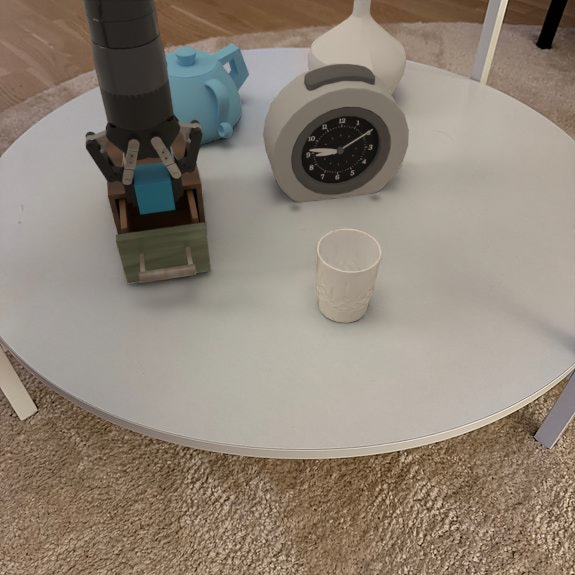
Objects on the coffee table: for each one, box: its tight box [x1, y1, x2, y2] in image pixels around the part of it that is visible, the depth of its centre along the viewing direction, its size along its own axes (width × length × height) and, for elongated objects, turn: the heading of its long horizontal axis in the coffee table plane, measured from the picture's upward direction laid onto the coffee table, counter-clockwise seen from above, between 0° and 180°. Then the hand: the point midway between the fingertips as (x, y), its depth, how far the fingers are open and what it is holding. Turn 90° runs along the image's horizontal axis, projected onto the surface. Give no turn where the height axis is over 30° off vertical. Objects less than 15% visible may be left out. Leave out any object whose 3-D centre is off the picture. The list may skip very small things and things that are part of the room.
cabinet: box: [106, 133, 208, 235], centre depth 90 cm, size 15×13×10 cm
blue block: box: [133, 162, 175, 214], centre depth 76 cm, size 4×4×4 cm
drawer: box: [115, 189, 212, 285], centre depth 82 cm, size 18×11×8 cm, turn 13°
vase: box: [307, 0, 407, 95], centre depth 111 cm, size 18×18×19 cm
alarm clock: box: [262, 64, 410, 203], centre depth 92 cm, size 21×8×20 cm, turn 102°
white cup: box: [316, 228, 383, 324], centre depth 77 cm, size 8×8×10 cm
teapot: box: [165, 43, 250, 145], centre depth 106 cm, size 19×19×14 cm
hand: (156, 199), depth 78 cm, fingers closed on blue block, 4 cm apart
